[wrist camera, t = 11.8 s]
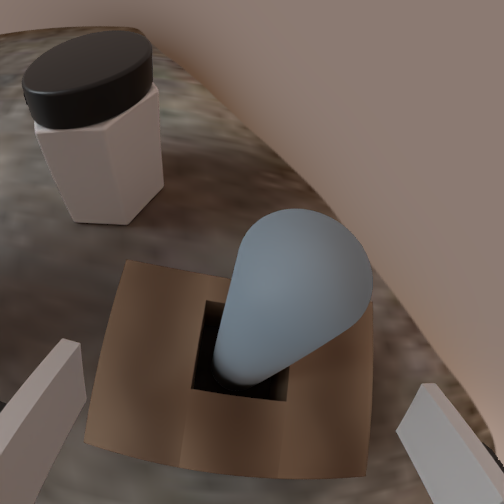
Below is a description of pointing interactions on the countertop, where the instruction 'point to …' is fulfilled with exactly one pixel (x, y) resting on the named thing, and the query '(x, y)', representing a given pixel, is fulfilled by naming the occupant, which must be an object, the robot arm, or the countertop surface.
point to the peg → (289, 295)
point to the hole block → (221, 405)
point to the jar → (99, 124)
